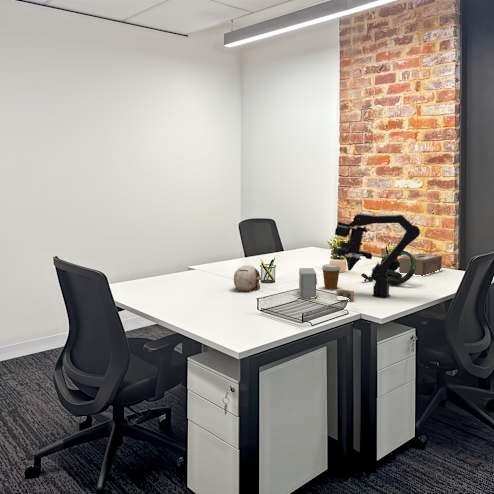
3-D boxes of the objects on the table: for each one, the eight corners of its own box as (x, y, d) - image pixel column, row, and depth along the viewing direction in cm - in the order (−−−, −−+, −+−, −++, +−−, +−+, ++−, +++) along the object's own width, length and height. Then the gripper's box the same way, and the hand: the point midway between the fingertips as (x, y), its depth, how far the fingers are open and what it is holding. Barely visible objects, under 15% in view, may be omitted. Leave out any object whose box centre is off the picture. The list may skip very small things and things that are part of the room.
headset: (377, 297, 291) (422, 278, 272) (361, 289, 283) (406, 269, 264) (373, 269, 300) (416, 249, 281) (357, 261, 293) (401, 240, 274)
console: (314, 291, 266) (314, 268, 265) (317, 298, 250) (317, 273, 249) (299, 291, 267) (299, 268, 265) (301, 298, 251) (301, 273, 249)
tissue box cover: (421, 277, 304) (422, 260, 303) (399, 274, 314) (399, 257, 313) (441, 271, 322) (441, 255, 321) (419, 269, 332) (419, 253, 331)
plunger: (316, 283, 256) (316, 277, 255) (317, 285, 253) (317, 278, 252) (304, 283, 256) (304, 277, 256) (305, 285, 253) (305, 278, 252)
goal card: (353, 301, 244) (353, 290, 243) (352, 301, 242) (352, 291, 242) (336, 299, 247) (337, 289, 247) (336, 300, 246) (336, 289, 245)
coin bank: (257, 284, 284) (256, 260, 281) (266, 294, 268) (266, 269, 265) (228, 287, 280) (228, 263, 277) (237, 297, 264) (236, 272, 261)
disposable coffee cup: (325, 290, 268) (325, 267, 267) (319, 287, 277) (319, 264, 276) (342, 289, 270) (343, 266, 268) (336, 286, 279) (336, 263, 278)
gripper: (364, 238, 264) (358, 268, 267) (331, 233, 259) (325, 264, 261) (375, 242, 254) (368, 273, 257) (341, 238, 248) (334, 270, 251)
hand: (349, 270), depth 257 cm, fingers closed
